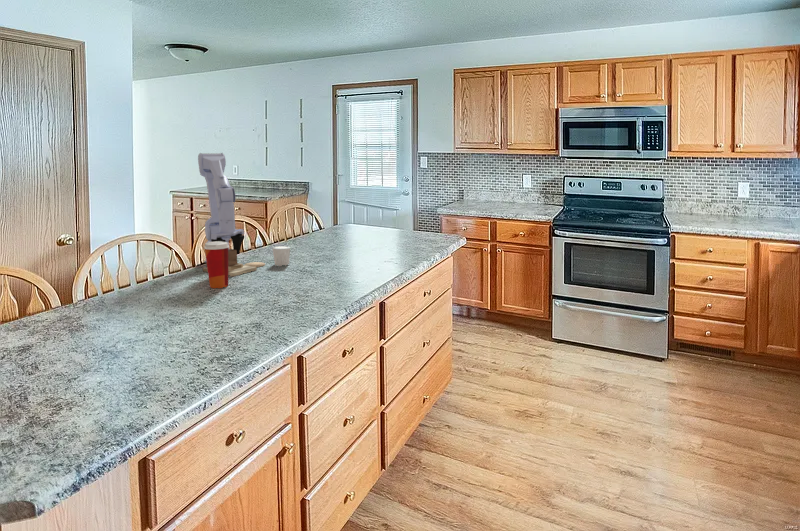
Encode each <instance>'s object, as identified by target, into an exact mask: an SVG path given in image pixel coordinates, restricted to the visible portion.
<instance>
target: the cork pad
mask: <svg viewBox="0 0 800 531" xmlns="http://www.w3.org/2000/svg"><path fill="white" fill-rule="evenodd" d="M243 265H246V266H253V267H257V268H261V266H262V267H264V266H266V263H265V262H261V261H256V262H255V261H254V262H253V261H252V262H247V263H245V264H243Z"/></svg>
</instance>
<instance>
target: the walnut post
mask: <svg viewBox="0 0 800 531" xmlns="http://www.w3.org/2000/svg"><path fill="white" fill-rule="evenodd" d="M237 263H238V254H237V250H234V249H232V248H229V249H228V266H229V267H230V266H234V265H237Z"/></svg>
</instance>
